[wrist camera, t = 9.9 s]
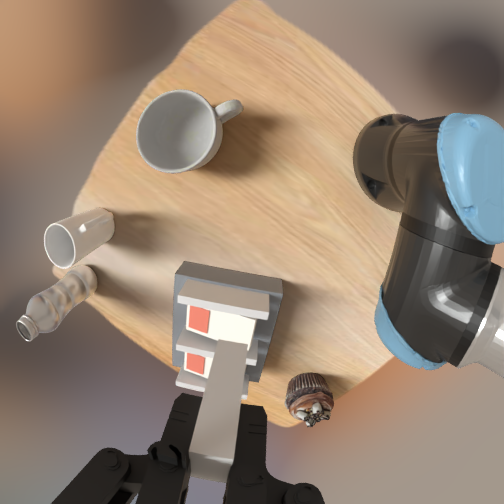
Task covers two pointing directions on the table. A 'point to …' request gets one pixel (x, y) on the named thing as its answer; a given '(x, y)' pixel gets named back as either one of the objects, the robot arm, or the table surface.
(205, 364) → the block
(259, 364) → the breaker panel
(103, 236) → the mug
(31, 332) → the plastic bottle
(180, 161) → the teacup
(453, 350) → the robot arm
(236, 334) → the breaker
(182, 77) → the table surface
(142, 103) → the table surface
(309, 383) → the cupcake
